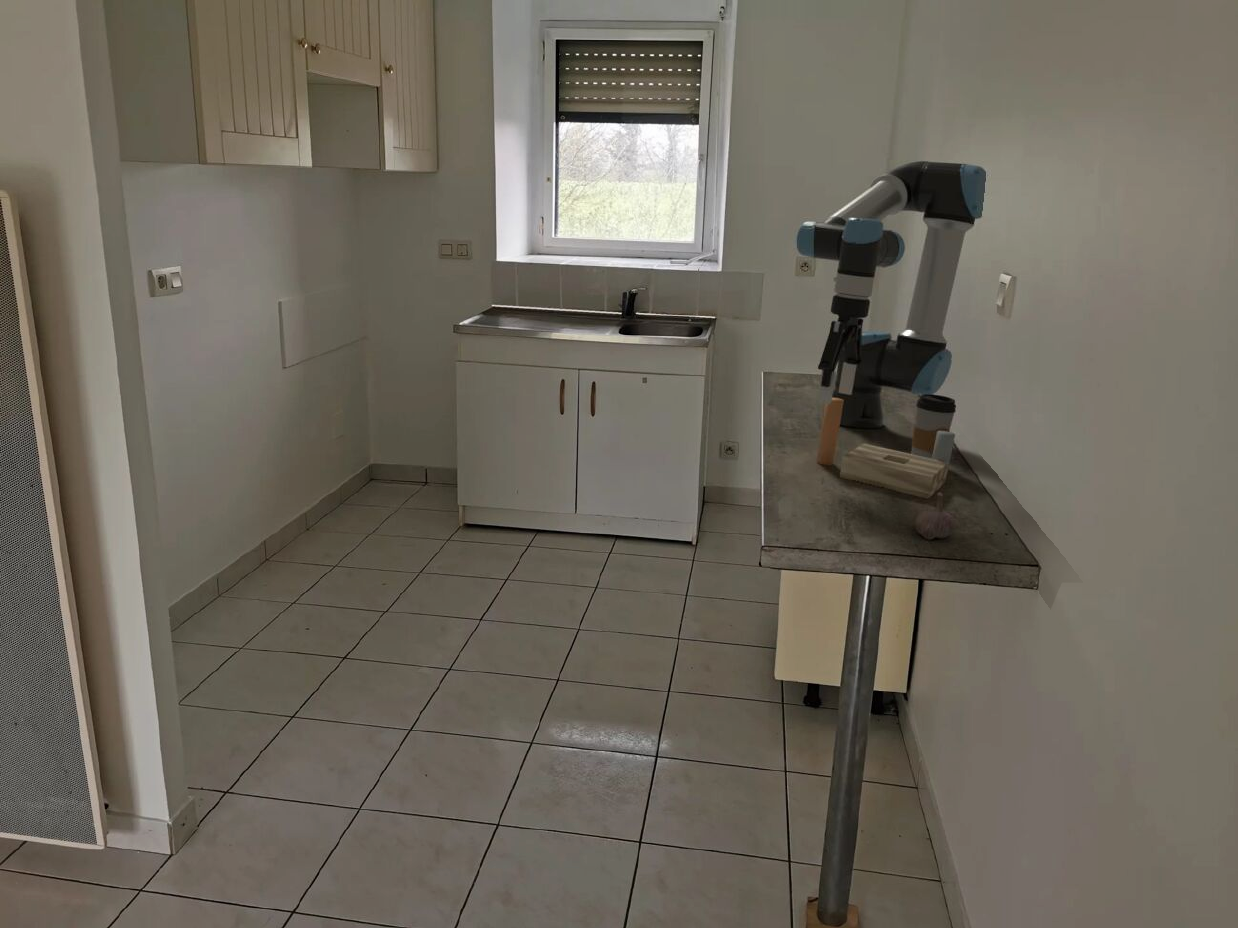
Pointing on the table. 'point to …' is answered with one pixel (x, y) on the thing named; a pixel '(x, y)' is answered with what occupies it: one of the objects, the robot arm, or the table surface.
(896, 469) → the bore block
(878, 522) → the table surface
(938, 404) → the coffee cup
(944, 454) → the grey dowel
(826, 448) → the tapered brown peg
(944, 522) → the garlic bulb
